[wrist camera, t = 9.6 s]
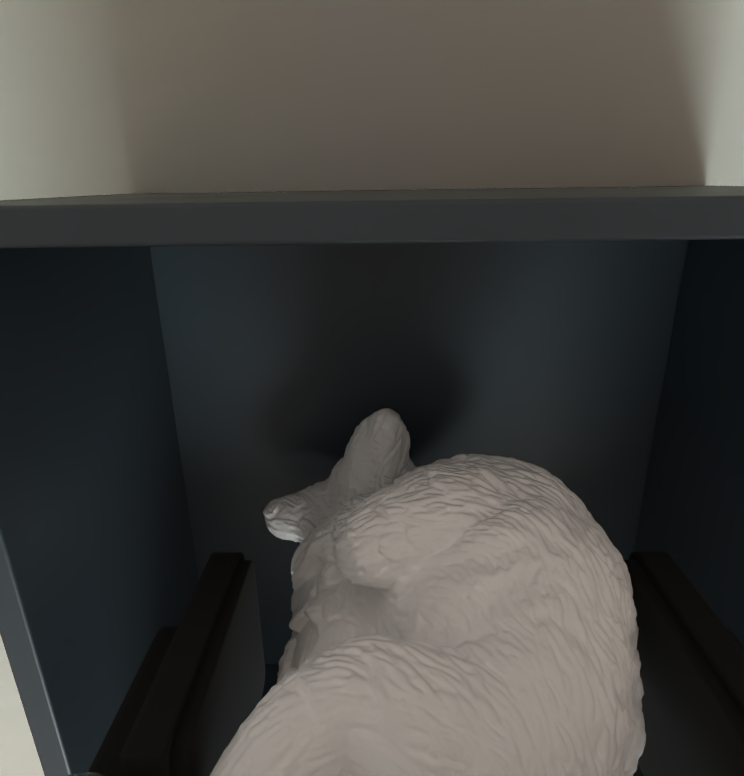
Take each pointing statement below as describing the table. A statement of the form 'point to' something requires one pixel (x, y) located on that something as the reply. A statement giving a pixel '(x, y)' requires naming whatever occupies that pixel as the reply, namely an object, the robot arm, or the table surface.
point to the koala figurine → (446, 625)
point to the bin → (340, 392)
